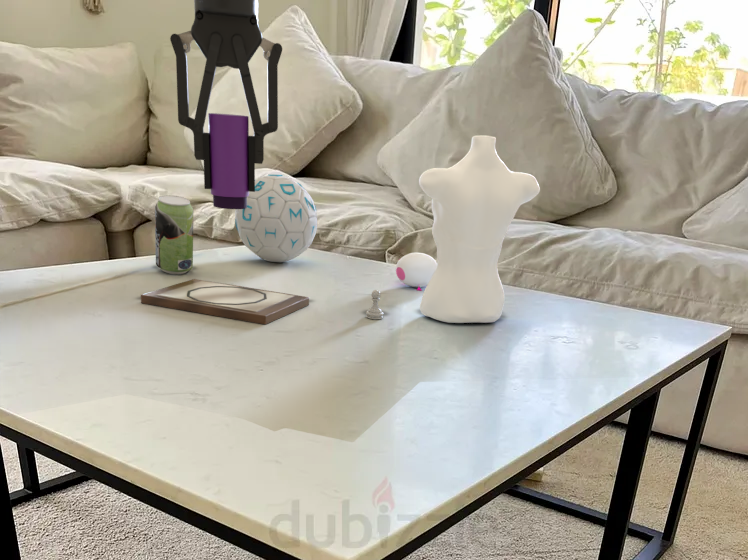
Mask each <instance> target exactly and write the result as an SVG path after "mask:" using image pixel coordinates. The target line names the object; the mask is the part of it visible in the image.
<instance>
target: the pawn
mask: <svg viewBox="0 0 748 560" xmlns="http://www.w3.org/2000/svg"><path fill="white" fill-rule="evenodd" d="M380 297H381V292H380V290H378V289H374V290H373V291H372V292H371V298H370V300H371V301H372V305H371V306H370V308H368V310H366V311H365V317H366V318H367V319H369V320H382V319H383V318H384V312H383V311H382V309H381V308H380V306H379V301H381V298H380Z"/></svg>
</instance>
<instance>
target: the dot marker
mask: <svg viewBox="0 0 748 560" xmlns="http://www.w3.org/2000/svg"><path fill="white" fill-rule="evenodd" d="M207 116H208V117H207V119H208V133H209V148H210V182H211V189H210V194H211V195H212V197H213V198H212V203H213V207H215V208H217V209H225V210H236V209H245V208H247V197H248V196H249V139H248V136H250V134H249V133H250V132H249V131H250V130H249V129H250V128H249V126H250V124H249V123H250V122H249V119H250V118H249V117H250V116H248V115H243V114H233V113H232V114H231V113H218V112H217V113H216V112H215V113H214V112H209V113H208V115H207Z"/></svg>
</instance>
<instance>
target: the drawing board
mask: <svg viewBox="0 0 748 560" xmlns="http://www.w3.org/2000/svg"><path fill="white" fill-rule="evenodd" d="M140 303H142V304H144V305H151V306H156V307H161V308H168V309H174V310H179V311H186V312H191V313H196V314H203V315H208V316H214V317H219V318H226V319H232V320H238V321H242V322H249V323H255V324H261V325H267V324H270V323H272V322H274V321H277V320H278V319H281V318H283V317H285V316H287V315H290V314H292V313H294V312H296V311H299V310H301V309H303V308H305V307H307V306H309V305H310V297H309V296H304V295H298V294H291V293H286V292H278V291H273V290H266V289H260V288H254V287H247V286H243V285H242V286H241V285H235V284H228V283H222V282H216V281H210V280H204V279H199V278H192V279H189V280H185V281H182V282H179V283H175V284H172V285H168V286H166V287H161V288H159V289H156V290H152V291H149V292H146V293H142V294H140Z"/></svg>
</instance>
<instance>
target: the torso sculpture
mask: <svg viewBox="0 0 748 560" xmlns="http://www.w3.org/2000/svg"><path fill="white" fill-rule="evenodd" d="M496 143H497V138H496V136H491V135H488V134H487V135H486V134H484V135H483V134H482V135H473V136H472V137H471V144H470V146H469V147H470V148H469V150H468V152H466V154H465V155H464V157H462V159H460V160H459V161H458V162H456V163H455V164H453V165H452V166H450V167H434V168H428V169H426V170H424V171H423V172H422V173H421V174H420V176H419V178H418V185H419V187H420V189H421V190H422V192H423V193H424V194H425V195H426V196H427V197H429V198H430V199H431V213H432V216H433V224H432V227H431V233H432V238H433V240H434V243H435V247H436V262H437V268H436V270H435V272H434V274H433V276H432V278H431V279H430V281H429V283H428V285H427V286H425V288H424V291H423V294H422V296H421V299H420V300H421V301H420V303H419V310H420V313H421V314H422V315H423V316H425V317H427V318H431V319H434V320H436V321H440V322H443V323H449V324H454V323H455V324H464V323H467V324H468V323H469V324H470V323H481V324H483V323H485V324H487V323H494V322H496V321H498V320H499V319H501V317H502V313H503V310H504V305H505V291H504V287H503V284H502V281H501V278H500V275H499V270H498V262H499V259H500V256H501V252H502V247H503V243H504V240H505V239H506V237H507V234H508V232H509V230H510V225H511V223H512V222H513V221H514V218H515V216H516V214H517V212H518V211H519V208H520V207H521V206H522V205H524V204H527V203H529V202H530V201H532V200H533V199H535V198H536V197H537V196H538V195H539V193H540V192H541V187H540V185H539V182H538V180H537V178H536V177H535V176H534V175H532V174H530V173H525V172H521V171H513V170H510V168H508V166H507V165H506V164H505V163H504V161H503V160H502V159H501V158H500V156H499V155H498V153H497V150H496Z"/></svg>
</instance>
